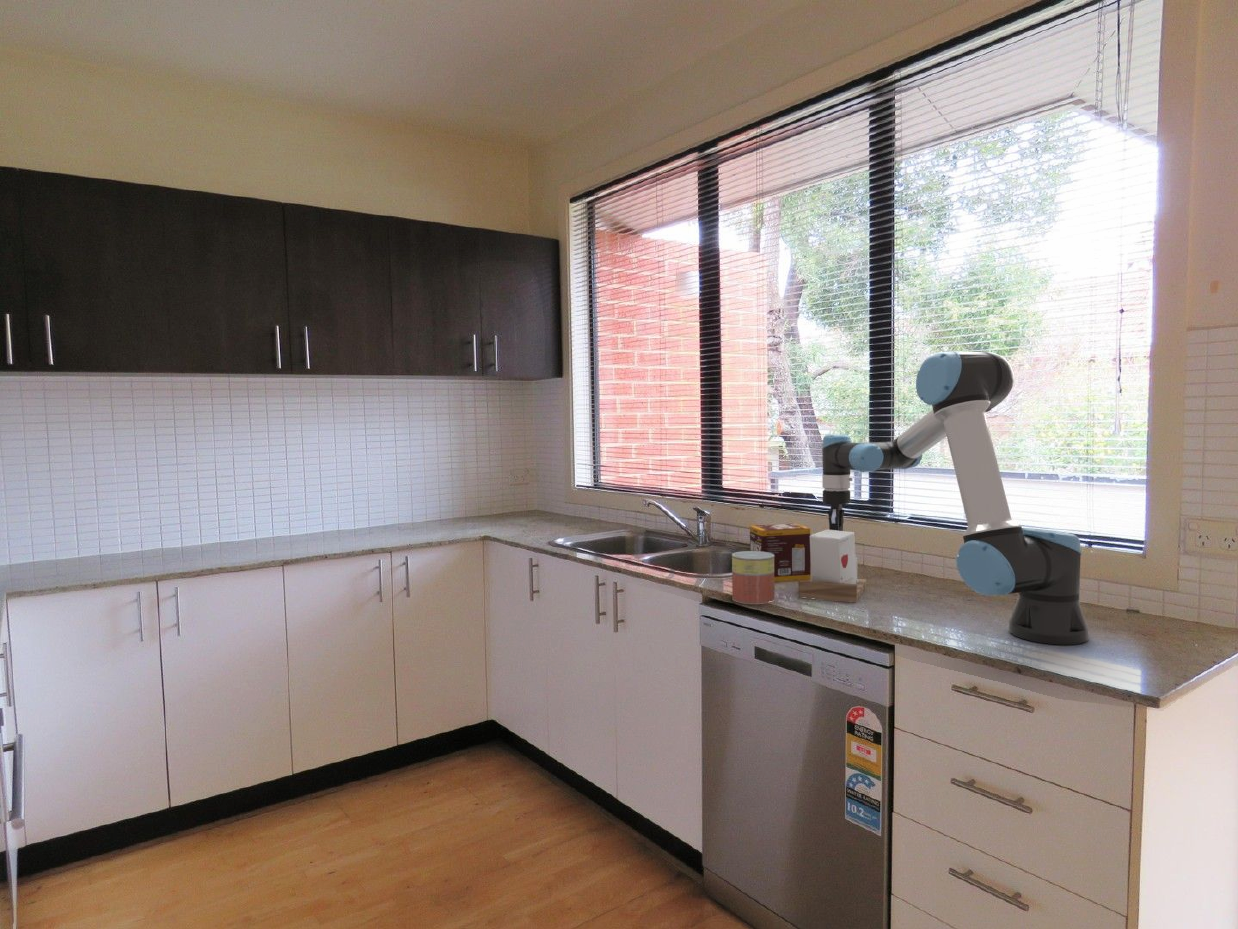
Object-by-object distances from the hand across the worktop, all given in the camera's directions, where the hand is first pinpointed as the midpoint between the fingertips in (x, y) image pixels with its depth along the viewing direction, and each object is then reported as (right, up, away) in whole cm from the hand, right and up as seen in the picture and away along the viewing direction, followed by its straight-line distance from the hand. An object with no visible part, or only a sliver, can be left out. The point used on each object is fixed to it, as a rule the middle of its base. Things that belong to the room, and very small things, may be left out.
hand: (836, 572), depth 215 cm
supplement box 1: (-13, -4, +13) cm, 19 cm away
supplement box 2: (-3, -3, -9) cm, 10 cm away
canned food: (-26, -6, -12) cm, 29 cm away
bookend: (-1, -3, -2) cm, 3 cm away
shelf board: (-2, -5, -5) cm, 7 cm away
